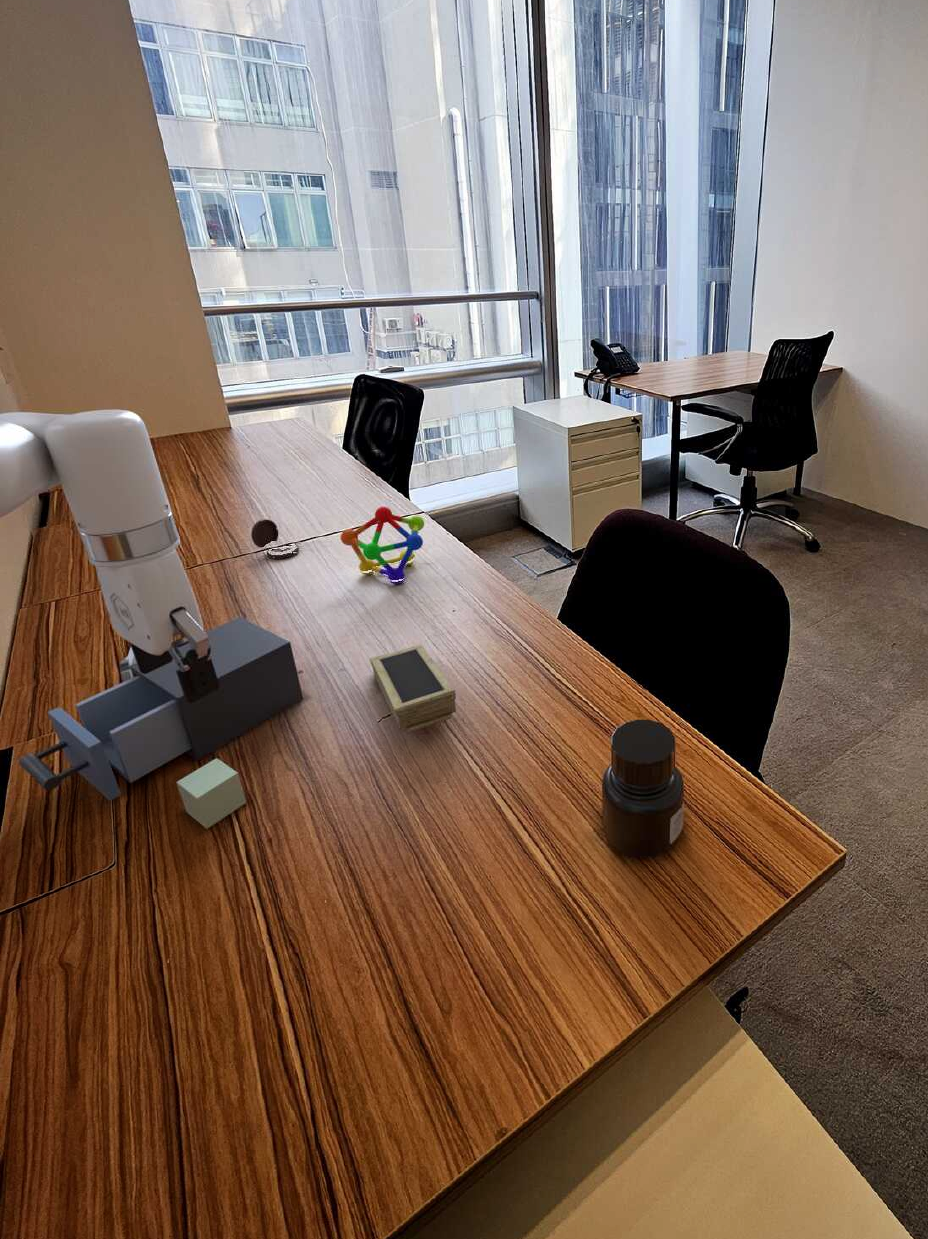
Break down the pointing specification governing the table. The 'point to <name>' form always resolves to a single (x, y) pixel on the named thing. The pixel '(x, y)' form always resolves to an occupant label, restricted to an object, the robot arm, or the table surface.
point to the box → (414, 688)
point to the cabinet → (233, 685)
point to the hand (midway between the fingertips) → (179, 680)
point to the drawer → (114, 737)
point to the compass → (269, 537)
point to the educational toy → (374, 551)
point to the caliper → (127, 666)
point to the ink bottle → (642, 790)
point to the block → (211, 792)
